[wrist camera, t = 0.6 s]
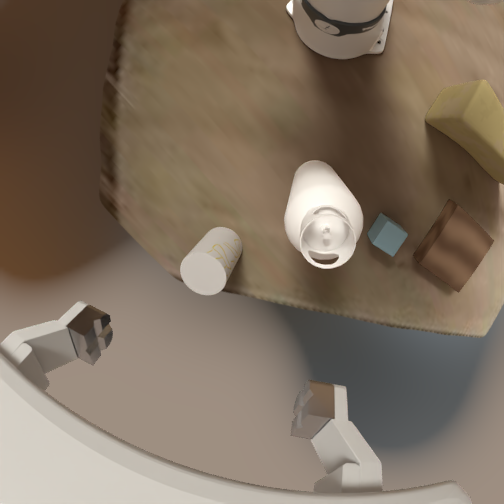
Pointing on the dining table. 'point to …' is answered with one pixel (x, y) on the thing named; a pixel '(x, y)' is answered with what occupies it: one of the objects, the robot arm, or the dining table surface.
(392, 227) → the cube
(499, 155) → the cheese
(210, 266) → the cup
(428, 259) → the riser
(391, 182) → the dining table surface
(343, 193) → the bottle
